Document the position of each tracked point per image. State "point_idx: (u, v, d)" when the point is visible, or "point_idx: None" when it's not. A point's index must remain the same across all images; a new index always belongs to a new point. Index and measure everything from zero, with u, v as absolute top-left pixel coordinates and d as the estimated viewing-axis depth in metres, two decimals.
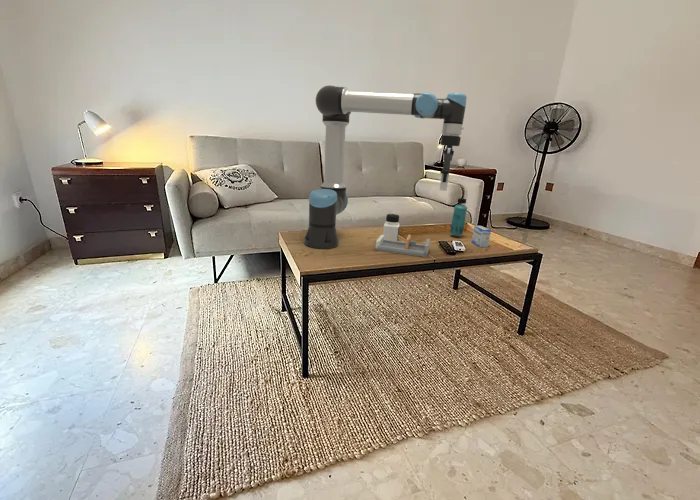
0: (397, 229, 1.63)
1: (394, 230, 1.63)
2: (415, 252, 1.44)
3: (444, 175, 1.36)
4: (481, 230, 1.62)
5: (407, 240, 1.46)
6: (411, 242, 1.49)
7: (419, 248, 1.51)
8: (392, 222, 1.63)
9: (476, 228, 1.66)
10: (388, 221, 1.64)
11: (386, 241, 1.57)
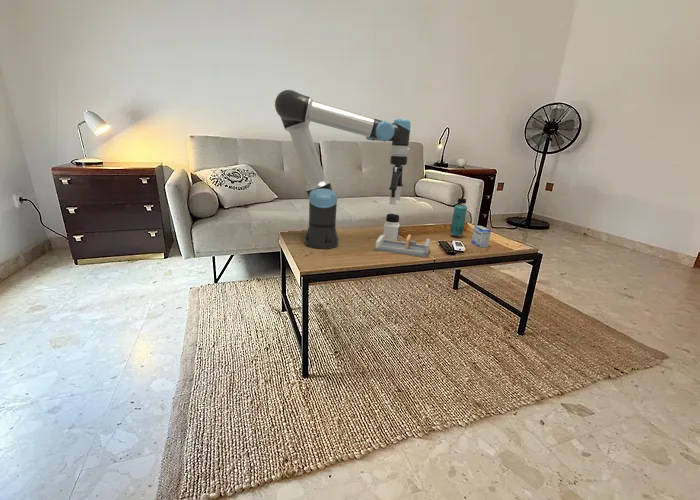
0: (397, 229, 1.63)
1: (394, 230, 1.63)
2: (415, 252, 1.44)
3: (392, 191, 1.53)
4: (481, 230, 1.62)
5: (407, 240, 1.46)
6: (411, 242, 1.49)
7: (419, 248, 1.51)
8: (392, 222, 1.63)
9: (476, 228, 1.66)
10: (388, 221, 1.64)
11: (386, 241, 1.57)
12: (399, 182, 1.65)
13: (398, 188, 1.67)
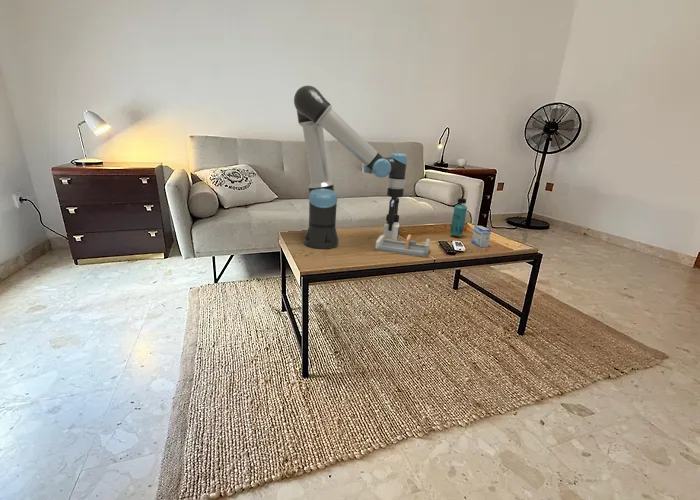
0: (397, 229, 1.63)
1: (394, 230, 1.63)
2: (415, 252, 1.44)
3: (389, 225, 1.61)
4: (481, 230, 1.62)
5: (407, 240, 1.46)
6: (411, 242, 1.49)
7: (419, 248, 1.51)
8: None
9: (476, 228, 1.66)
10: None
11: (386, 241, 1.57)
12: None
13: None
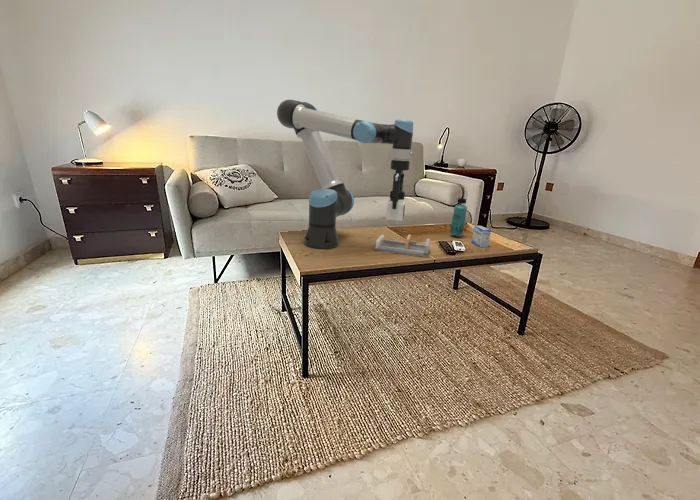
0: (402, 207, 1.43)
1: (399, 208, 1.44)
2: (415, 252, 1.44)
3: (393, 202, 1.41)
4: (481, 230, 1.62)
5: (407, 240, 1.46)
6: (411, 242, 1.49)
7: (419, 248, 1.51)
8: None
9: (476, 228, 1.66)
10: None
11: (386, 241, 1.57)
12: None
13: None
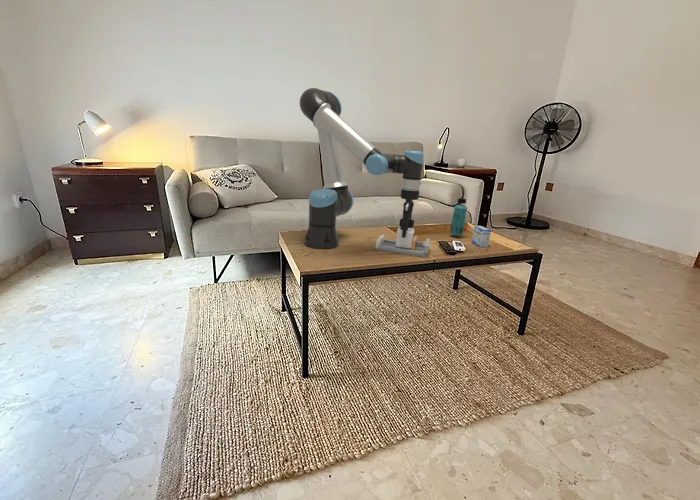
0: (412, 236, 1.45)
1: (408, 236, 1.46)
2: (415, 252, 1.44)
3: (403, 231, 1.44)
4: (481, 230, 1.62)
5: (414, 241, 1.45)
6: (417, 243, 1.48)
7: (419, 248, 1.51)
8: None
9: (476, 228, 1.66)
10: None
11: (386, 241, 1.57)
12: None
13: None
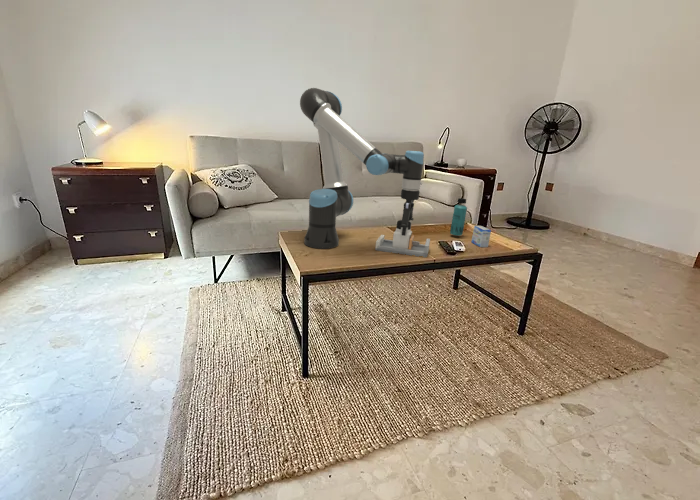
0: (408, 237, 1.46)
1: None
2: (415, 252, 1.44)
3: (403, 229, 1.41)
4: (481, 230, 1.62)
5: (410, 240, 1.45)
6: (414, 242, 1.49)
7: (419, 248, 1.51)
8: None
9: (476, 228, 1.66)
10: (398, 228, 1.47)
11: (386, 241, 1.57)
12: (410, 216, 1.53)
13: None
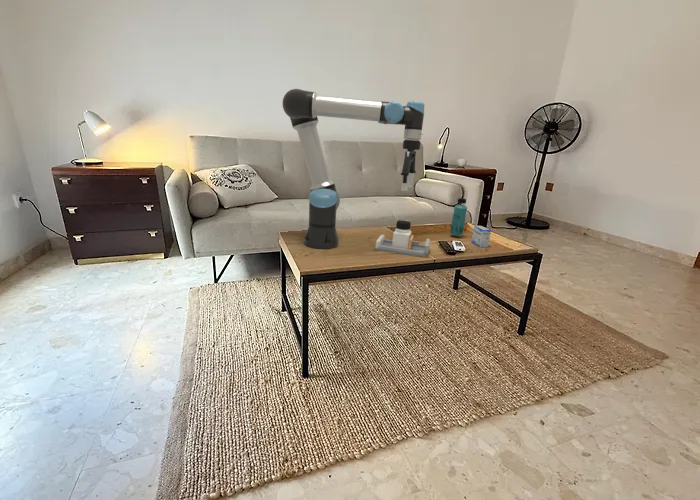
0: (408, 237, 1.46)
1: (404, 238, 1.47)
2: (415, 252, 1.44)
3: (404, 176, 1.48)
4: (481, 230, 1.62)
5: (410, 240, 1.45)
6: (414, 242, 1.49)
7: (419, 248, 1.51)
8: (402, 229, 1.46)
9: (476, 228, 1.66)
10: (398, 228, 1.47)
11: (386, 241, 1.57)
12: (412, 168, 1.59)
13: (411, 175, 1.61)
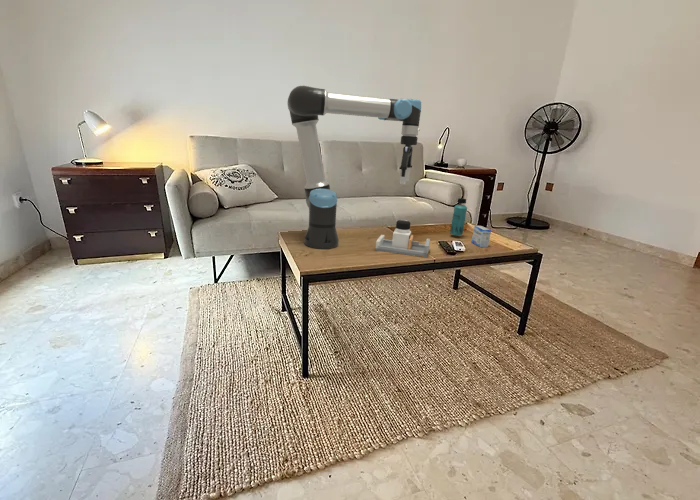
0: (408, 237, 1.46)
1: (404, 238, 1.47)
2: (415, 252, 1.44)
3: (402, 170, 1.56)
4: (481, 230, 1.62)
5: (410, 240, 1.45)
6: (414, 242, 1.49)
7: (419, 248, 1.51)
8: (402, 229, 1.46)
9: (476, 228, 1.66)
10: (398, 228, 1.47)
11: (386, 241, 1.57)
12: (409, 163, 1.67)
13: (407, 169, 1.69)
